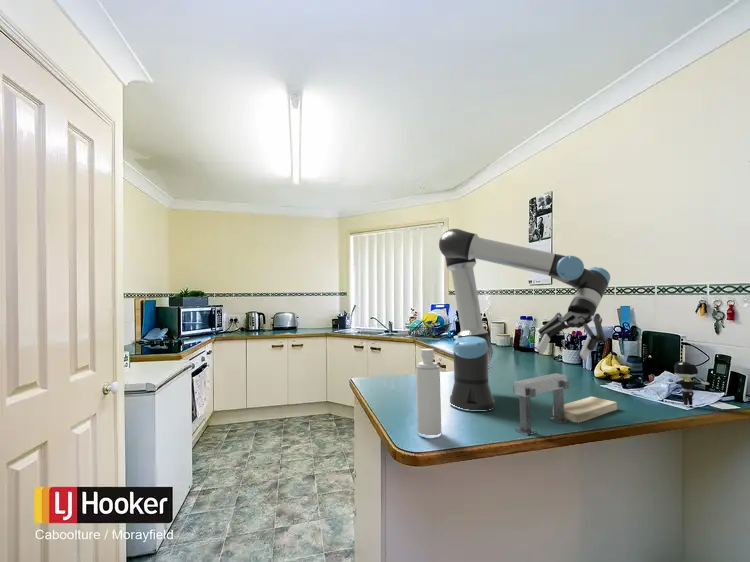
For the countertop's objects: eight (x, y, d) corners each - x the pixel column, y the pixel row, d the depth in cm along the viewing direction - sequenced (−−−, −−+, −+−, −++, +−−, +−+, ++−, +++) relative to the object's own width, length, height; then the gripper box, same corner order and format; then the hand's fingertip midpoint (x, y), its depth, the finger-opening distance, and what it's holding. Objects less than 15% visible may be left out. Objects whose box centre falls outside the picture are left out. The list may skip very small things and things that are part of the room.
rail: (514, 394, 96) (513, 381, 96) (556, 384, 106) (555, 373, 106) (525, 397, 93) (524, 384, 93) (567, 386, 103) (566, 375, 103)
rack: (512, 429, 96) (510, 386, 97) (554, 416, 106) (552, 377, 107) (530, 436, 91) (528, 390, 92) (572, 422, 101) (570, 380, 102)
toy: (701, 404, 117) (698, 360, 117) (717, 409, 111) (714, 363, 111) (659, 403, 118) (656, 360, 119) (673, 409, 112) (670, 363, 113)
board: (552, 415, 108) (552, 407, 108) (591, 403, 119) (591, 396, 119) (578, 422, 101) (578, 414, 101) (617, 409, 112) (616, 402, 112)
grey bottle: (423, 427, 98) (421, 341, 100) (445, 432, 95) (443, 343, 96) (412, 435, 93) (411, 344, 94) (435, 441, 89) (433, 345, 91)
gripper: (631, 313, 103) (609, 368, 95) (553, 311, 125) (529, 356, 117) (621, 296, 101) (598, 351, 93) (544, 297, 123) (518, 342, 114)
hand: (559, 354), depth 105 cm, fingers open, 13 cm apart
